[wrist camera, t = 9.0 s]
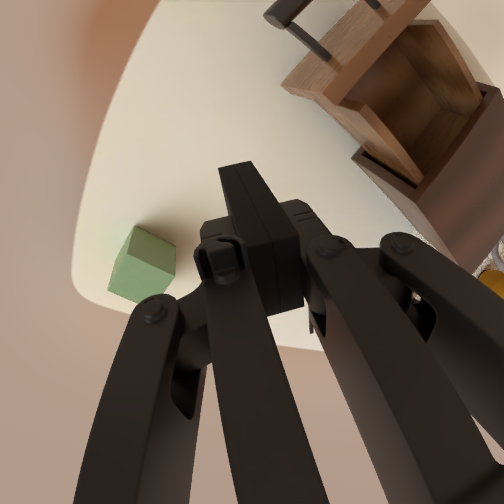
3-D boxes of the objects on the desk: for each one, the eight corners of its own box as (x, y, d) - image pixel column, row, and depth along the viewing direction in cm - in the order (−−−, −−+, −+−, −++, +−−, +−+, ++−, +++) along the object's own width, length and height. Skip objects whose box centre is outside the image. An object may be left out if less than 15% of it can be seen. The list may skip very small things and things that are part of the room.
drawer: (228, 47, 18) (248, 33, 12) (318, -41, 14) (369, -71, 8) (381, 179, 27) (431, 218, 20) (443, 101, 23) (501, 122, 16)
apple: (460, 283, 42) (499, 328, 33) (494, 248, 40) (535, 288, 30) (465, 306, 47) (497, 346, 38) (496, 275, 45) (530, 312, 36)
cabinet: (350, 158, 26) (414, 203, 18) (423, 70, 22) (499, 88, 14) (418, 231, 33) (467, 279, 25) (474, 160, 29) (530, 194, 21)
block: (115, 260, 27) (107, 290, 23) (134, 225, 26) (126, 253, 22) (154, 278, 29) (152, 309, 26) (176, 246, 28) (175, 276, 24)
